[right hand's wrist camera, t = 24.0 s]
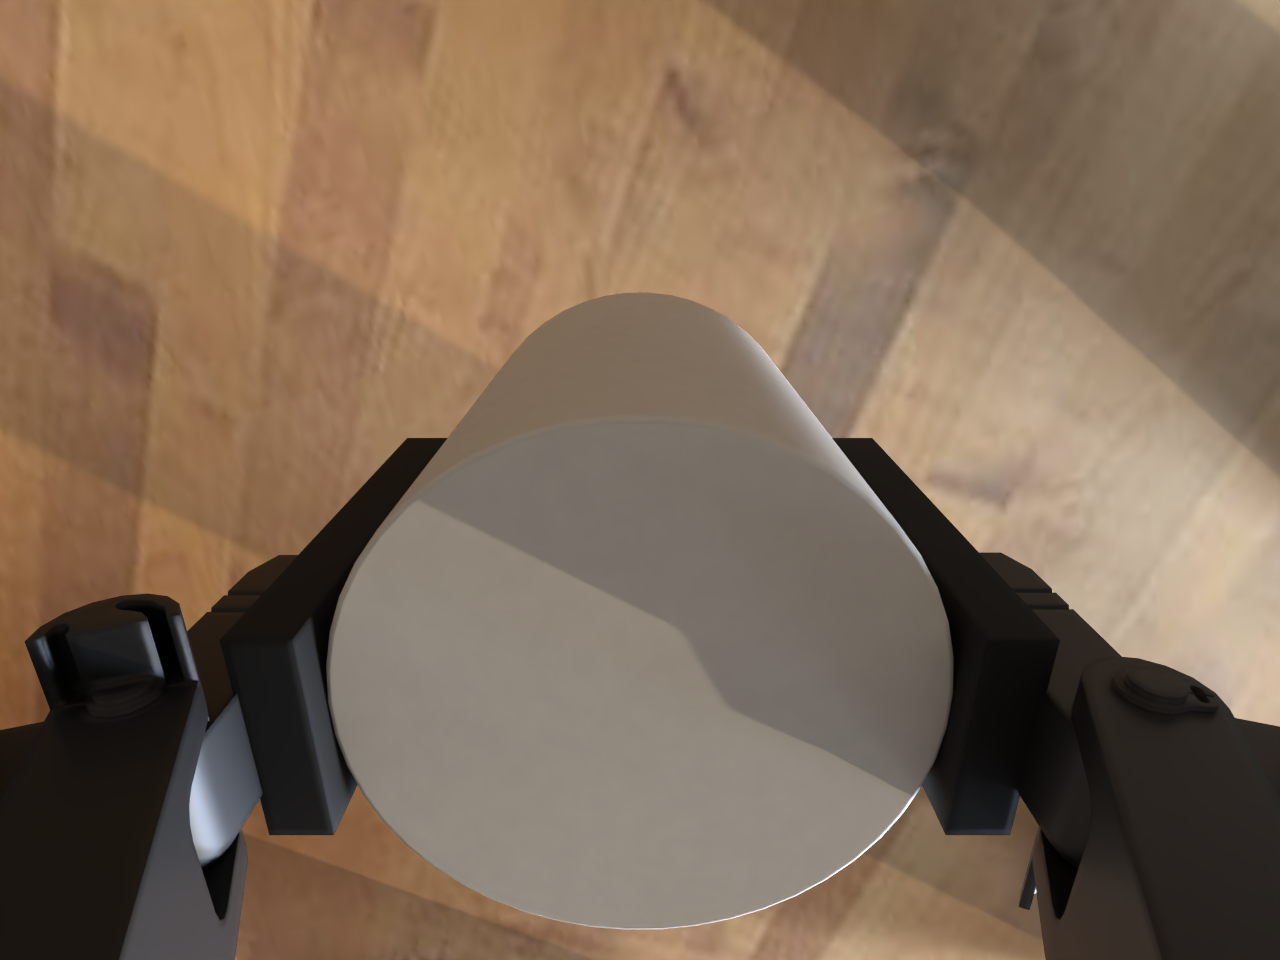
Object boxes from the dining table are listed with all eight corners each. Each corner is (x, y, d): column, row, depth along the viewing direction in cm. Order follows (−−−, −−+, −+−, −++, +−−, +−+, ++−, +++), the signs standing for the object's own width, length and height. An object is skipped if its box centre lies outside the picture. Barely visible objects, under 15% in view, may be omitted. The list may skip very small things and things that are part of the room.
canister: (478, 283, 15) (283, 398, 7) (816, 300, 15) (1027, 432, 7) (488, 580, 18) (356, 923, 10) (776, 592, 18) (893, 941, 10)
